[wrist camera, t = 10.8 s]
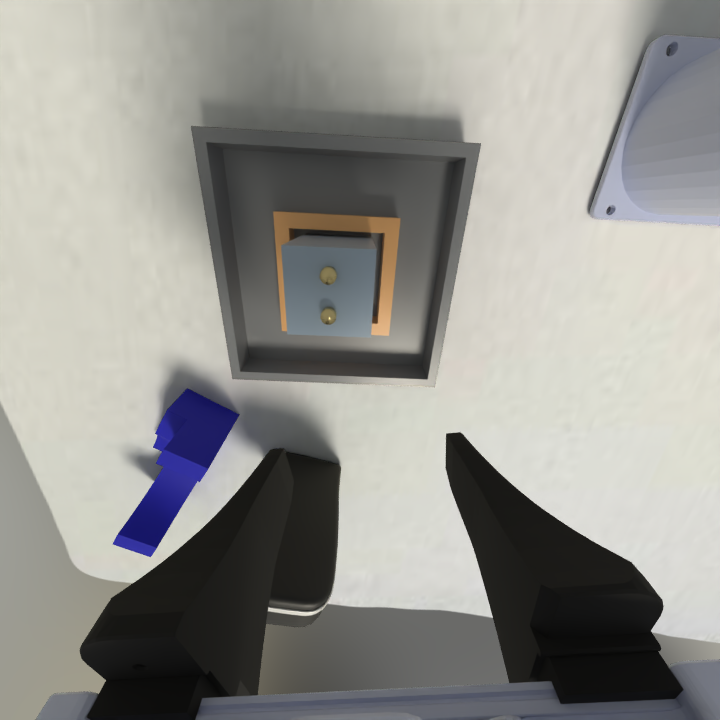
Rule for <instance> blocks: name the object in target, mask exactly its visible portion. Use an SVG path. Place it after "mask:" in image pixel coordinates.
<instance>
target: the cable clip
mask: <svg viewBox="0 0 720 720" xmlns="http://www.w3.org/2000/svg"><path fill="white" fill-rule="evenodd" d="M238 416H239V414H237V413H235V412H233V411H231V410H229V409H227V408H225V407H223V406H221V405H219V404H217V403H215V402H213V401H211V400H209V399H207V398H205V397H203V396H202V395H200V394H198V393H196V392H194V391H192V390H190V389H188V388H187V389H186V390H185V391H184V392H183V394H182V395H181V396H180V397H179V398H178V399H177V400H176V401H175V402H174V403H173V404H172V405H171V406H170V407H169V408H168V409H167V411H166V413H165V415H164V417H163V419H162V421H161V423H160V425H159V427H158V429H157V431H156V433H155V434H157V439H156V442H155V444H154V446H153V448H156V449H158V450H160V451H162V453H161V455H160V457H159V459H158V460H157V462H156V464H159V465H161V466H163V469H162V470H161V472H160V474H159V475H158V477H157V478H156V480H155V481H154V483H153V484H152V486H151V488H150V489H149V491H148V492H147V494H146V495H145V496H144V498H143V499H142V501H141V502H140V504H139V505H138V507H137V508H136V510H135V511H134V512H133V514H132V515H131V517H130V518H129V520H128V521H127V522H126V524H125V525H124V526H123V528H122V529H121V531H120V532H119V533H118V535H117V537H116V539H115V540H114V542H113V544H114V545H116V546H119V547H122V548H125V549H128V550H131V551H134V552H137V553H140V554H143V555H146V556H149V557H151V556H152V555H153V553H154V551H155V550H156V548H157V547H158V545H159V543H160V542H161V540H162V538H163V537H164V535H165V533H166V532H167V530H168V528H169V527H170V525H171V523H172V522H173V520H174V518H175V517H176V515H177V513H178V512H179V510H180V509H181V507H182V505H183V504H184V502H185V500H186V499H187V497H188V495H189V494H190V492H191V491H192V489H193V487H194V486H195V484H196V483H197V481H199V482H200V481H201V479H202V478H203V476H204V475H205V473H206V472H207V470H208V468H209V467H210V465H211V463H212V461H213V460H214V458H215V456H216V455H217V453H218V451H219V449H220V448H221V446H222V444H223V442H224V441H225V439H226V437H227V435H228V434H229V432H230V430H231V428H232V427H233V425H234V423H235V422H236V420H237V418H238Z"/></svg>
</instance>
